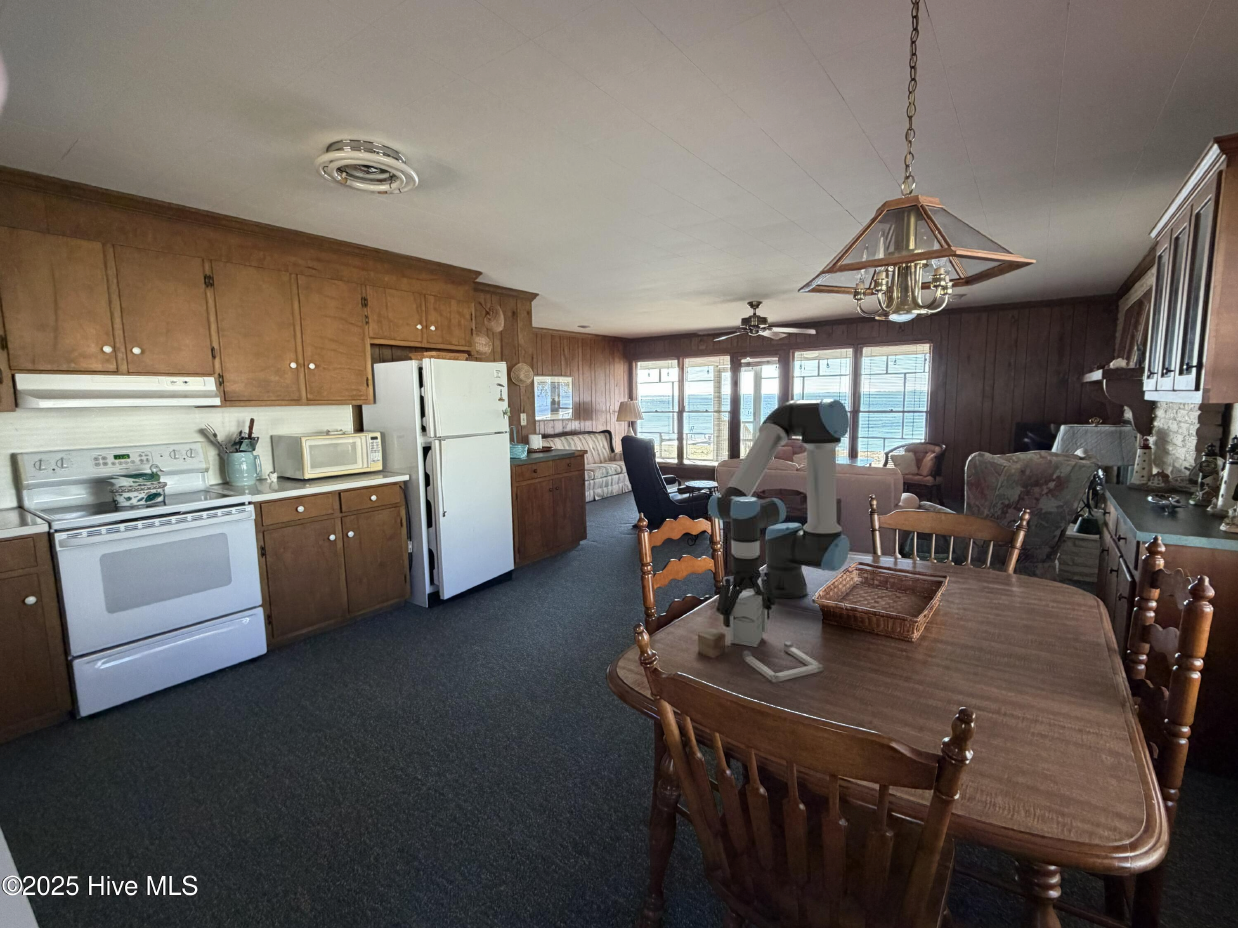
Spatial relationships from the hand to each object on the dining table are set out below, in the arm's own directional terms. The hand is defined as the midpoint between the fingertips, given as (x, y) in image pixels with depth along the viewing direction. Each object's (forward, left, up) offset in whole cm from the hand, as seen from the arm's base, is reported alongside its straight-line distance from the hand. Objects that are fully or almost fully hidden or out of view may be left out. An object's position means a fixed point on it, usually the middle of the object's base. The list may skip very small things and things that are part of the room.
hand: (746, 634), depth 151 cm
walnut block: (+12, +2, -2) cm, 12 cm away
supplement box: (0, 0, -2) cm, 2 cm away
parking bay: (0, +15, -2) cm, 15 cm away
